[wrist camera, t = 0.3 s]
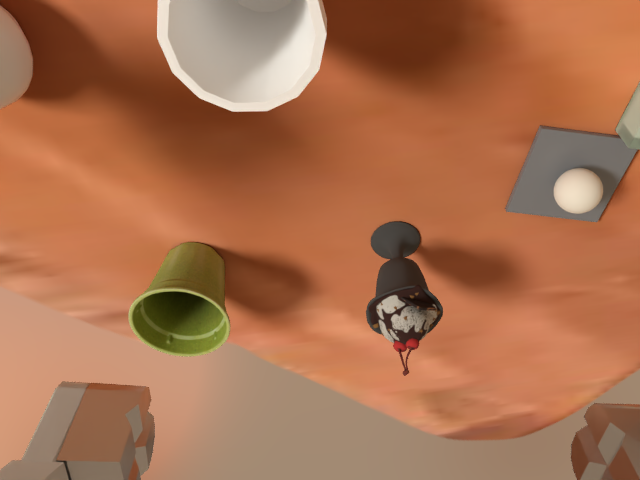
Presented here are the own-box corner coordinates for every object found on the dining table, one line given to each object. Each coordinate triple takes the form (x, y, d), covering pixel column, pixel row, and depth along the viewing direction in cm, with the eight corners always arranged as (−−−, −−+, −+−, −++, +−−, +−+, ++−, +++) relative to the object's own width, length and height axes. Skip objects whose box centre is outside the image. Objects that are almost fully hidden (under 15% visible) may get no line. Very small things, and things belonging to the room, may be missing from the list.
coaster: (540, 125, 50) (541, 128, 50) (639, 138, 51) (642, 141, 51) (505, 208, 56) (506, 211, 56) (595, 218, 57) (597, 222, 56)
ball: (558, 156, 52) (572, 182, 49) (601, 162, 52) (618, 188, 49) (541, 193, 54) (553, 220, 51) (582, 198, 55) (597, 225, 52)
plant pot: (150, 221, 58) (126, 282, 51) (245, 235, 59) (233, 297, 52) (150, 287, 64) (129, 350, 57) (237, 299, 65) (226, 362, 58)
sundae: (380, 273, 62) (390, 393, 51) (351, 229, 58) (355, 348, 47) (438, 251, 60) (463, 371, 48) (412, 204, 56) (433, 322, 45)
